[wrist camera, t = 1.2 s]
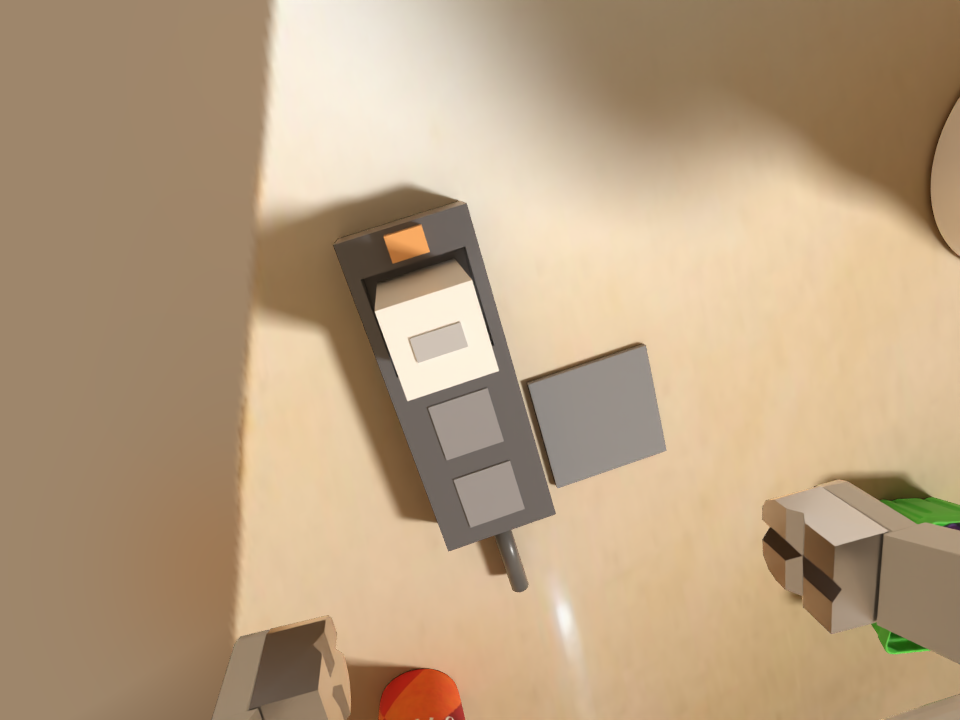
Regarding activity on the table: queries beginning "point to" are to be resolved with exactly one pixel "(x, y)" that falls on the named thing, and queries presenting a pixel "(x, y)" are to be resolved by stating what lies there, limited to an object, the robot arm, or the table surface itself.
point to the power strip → (455, 393)
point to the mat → (598, 415)
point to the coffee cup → (421, 697)
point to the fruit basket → (919, 513)
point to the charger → (434, 328)
